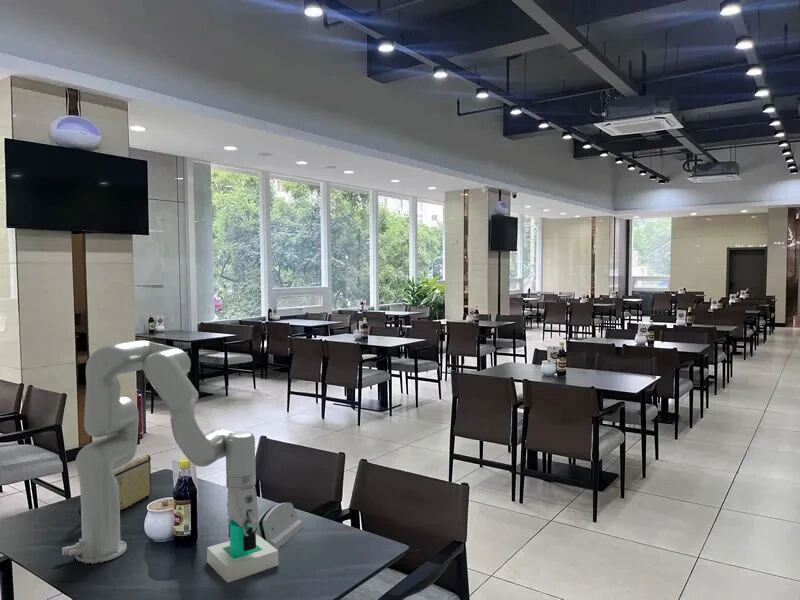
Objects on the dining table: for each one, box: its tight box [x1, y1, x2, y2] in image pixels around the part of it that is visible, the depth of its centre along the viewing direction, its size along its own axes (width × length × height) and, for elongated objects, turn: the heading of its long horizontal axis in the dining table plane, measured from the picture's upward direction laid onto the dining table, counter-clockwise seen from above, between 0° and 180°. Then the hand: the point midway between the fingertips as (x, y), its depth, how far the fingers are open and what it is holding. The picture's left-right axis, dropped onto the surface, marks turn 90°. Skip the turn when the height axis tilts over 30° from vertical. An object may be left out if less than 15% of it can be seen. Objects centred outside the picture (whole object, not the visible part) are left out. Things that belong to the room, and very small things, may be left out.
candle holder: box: [206, 533, 279, 584], centre depth 153 cm, size 14×14×4 cm
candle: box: [229, 520, 253, 559], centre depth 153 cm, size 6×6×12 cm
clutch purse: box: [78, 454, 152, 518], centre depth 191 cm, size 30×7×15 cm, turn 166°
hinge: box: [256, 502, 305, 550], centre depth 170 cm, size 17×5×10 cm, turn 161°
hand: (242, 543), depth 153 cm, fingers open, 9 cm apart
